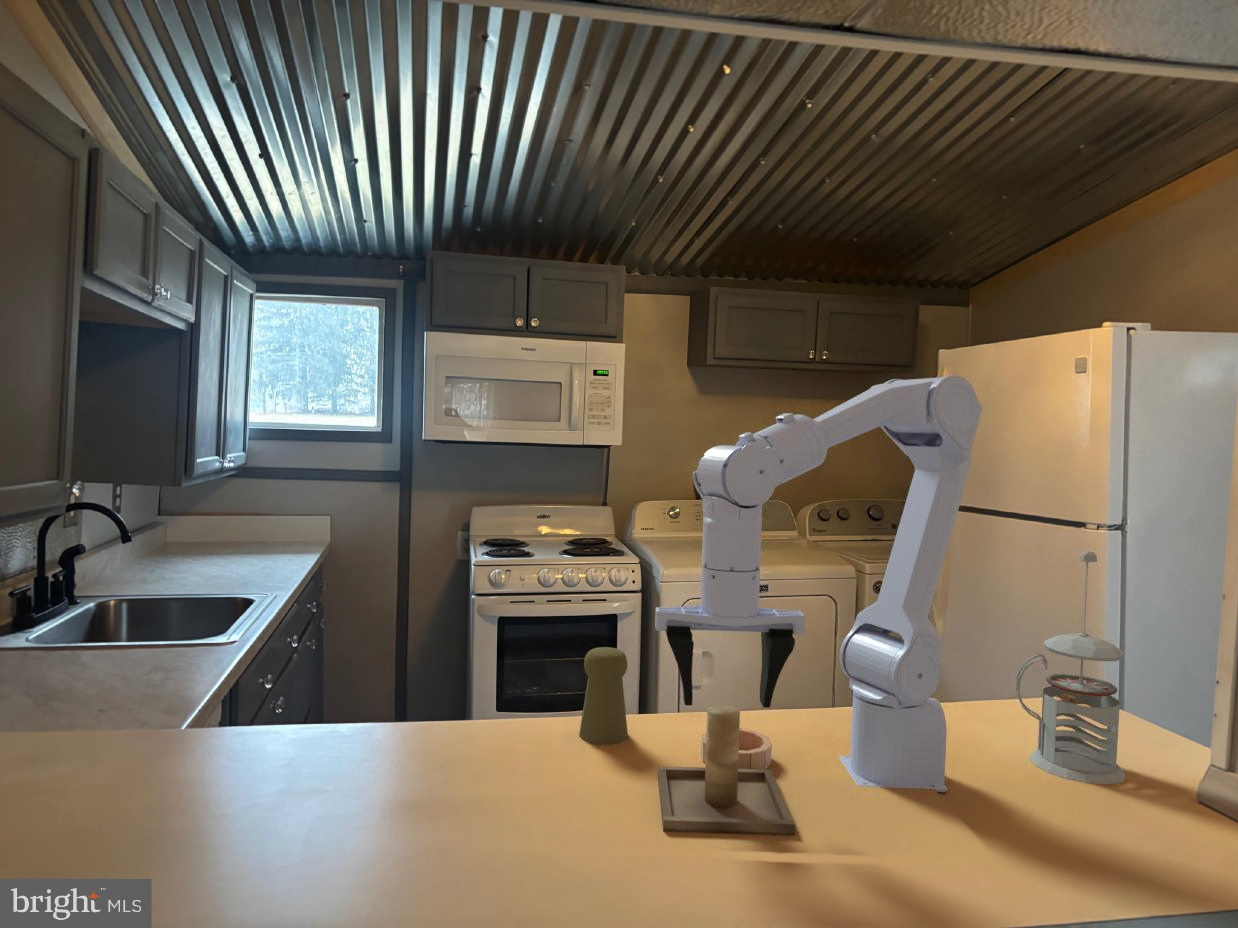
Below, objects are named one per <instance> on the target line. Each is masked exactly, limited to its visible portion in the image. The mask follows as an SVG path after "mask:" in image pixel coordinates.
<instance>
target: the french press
mask: <svg viewBox="0 0 1238 928" xmlns="http://www.w3.org/2000/svg"><path fill="white" fill-rule="evenodd" d="M1097 557H1098V556H1097V555H1096V553H1095V552H1093V551H1090V550H1084V551H1081V552H1080V554H1078V561H1079V562H1085V563H1086V564H1085V581H1084V582H1085V583H1084V598H1083V600H1084V601H1083V616H1082V617H1083V618H1082V619H1083V620H1082V621H1083V623H1082V632H1079V633H1068V634H1067V633H1066V634H1060V635H1055V636H1053V637H1051V638H1048V639H1046V640H1045V641H1043V646H1044V648H1045V649H1046V650H1047V651H1048V652H1050V653H1053V654H1055V655H1058V656H1059V655H1060V656H1063V657H1069V658H1073V659H1080V674H1077V673H1074V674H1073V673H1071V674H1070V673H1065V672H1063V673H1053V674H1050V675H1047V676H1046V679H1045V680H1046V682H1047V684H1049V686H1047V687H1046V686H1045V687H1044V688H1043V691H1042V706H1041V707H1042V708H1041V716H1040V714H1038V713H1037V712H1035V711H1034V710H1032V709H1030V708H1028V706H1027V705H1026V704H1025V703H1024V701H1023V700H1022V696H1021V695H1022V694H1021V691H1020V690H1021V681H1022V678H1023V676H1024V673H1025V671H1026V670H1027V669H1029V667H1030V666H1032V665H1033V664H1034V663H1036V662H1040V661H1041V660H1042V667H1043V669H1044V670H1047V669H1048V660H1047V658H1046V657H1045V656H1044V654H1042V653H1041V654H1040V653H1039V654H1036V655H1033V656H1030V657H1027V659H1026V660H1025V661H1023V662H1022V663H1021V665H1020V667H1019V668H1018V669H1017V672H1016V675H1015V684H1014V686H1015V687H1014V688H1015V691H1016V696H1017V699H1018V701H1019V702H1020V704H1021V706H1022V709H1023V710H1024V711H1025V712H1026V713H1027V714H1028V715H1030V716H1032V717H1033V718H1035V719H1036V720H1038V736H1037V737H1038V739H1037V743H1038V744H1037V749H1035V750H1034V751H1032V752H1031V753H1030V755H1029V760H1030V761H1031V762H1032V764H1034V766H1035V767H1037V768H1040V769H1041V770H1043V771H1045V772H1046V773H1049V774H1052V775H1055V776H1058V777H1060V778H1064V779H1065V780H1069V781H1074V782H1075V781H1076V782H1080V783H1085V784H1094V785H1095V784H1096V785H1112V784H1113V785H1114V784H1121V783H1122V782H1124V781H1126V780H1127V776H1126V772H1125V771H1124V769H1122V767H1121V766H1120V765H1119V764H1118V763H1117V760H1118V758H1117V756H1118V741H1119V724H1120V723H1119V722H1120V710H1121V709H1120V706H1121V705H1120V704H1121V703H1120V700H1119V699H1117V698H1115V697H1113V696H1114V695H1116V693H1117V692H1118V687H1117V686H1116V685H1114V684H1112V683H1111V682H1109V681H1105V680H1103V679H1101V678H1096V679H1095V677H1089V675H1088V676H1086V675H1084V674H1083V669H1084V661H1085V660H1086V661H1093V662H1117V661H1121V660H1122V659H1123V658H1124V656H1125V654H1124V651H1122V650H1121V649H1120V648H1119V647H1117V646H1116V645H1114V643H1112V642H1110V641H1108V640H1105V639H1103V638H1100V637H1098V636H1094V635H1089V634H1088V633H1087V632H1086V630H1085V629H1086V612H1087V611H1086V610H1087V592H1088V572H1089V571H1088V570H1089V563H1097V562H1098V559H1097ZM1038 657H1039V658H1038ZM1035 658H1037V659H1035ZM1032 659H1034V660H1032ZM1028 662H1029V663H1028ZM1027 663H1028V664H1027ZM1083 675H1084V676H1083ZM1050 685H1051V686H1050ZM1060 695H1066V696H1070V697H1073V698H1075V699H1076V700H1079V701H1080V702H1082V703H1083V704H1086V706H1085V705H1079V704H1077V703H1076V702H1074V701H1071V700H1067V699H1064V698H1063V699H1056V698H1054V697H1055V696H1060ZM1112 695H1113V696H1112ZM1060 716H1063V717H1066V718H1057V717H1060ZM1081 716H1082V717H1081ZM1083 717H1085V718H1087V719H1090V720H1092V721H1093V722H1096V723H1098V724H1100V725H1102V726H1103V727H1099V726H1097V725H1096V724H1094V723H1092V722H1090V721H1087V720H1086V719H1085V718H1083ZM1059 727H1064V728H1068V729H1057V728H1059ZM1104 727H1106V728H1104ZM1069 729H1072V730H1069ZM1086 730H1087V731H1086ZM1088 731H1090V732H1091V733H1093V734H1091V733H1090V732H1088ZM1094 734H1095V735H1094ZM1096 735H1098V736H1099V737H1101V738H1099V737H1098V736H1096Z"/></svg>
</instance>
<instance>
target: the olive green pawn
mask: <svg viewBox="0 0 1238 928" xmlns="http://www.w3.org/2000/svg"><path fill="white" fill-rule="evenodd" d="M583 664H584V665H583V667H584V672H585V674H586V675H587V682H586V683H587V684H586V690H585V696H584V702H583V709H582V714H581V715H582V716H581V721H580V722H581V723H580V727H579V734H578V735H579V738H580V739H581V740H582V741H584V742H586V743H589V744H593V745H600V746H601V745H602V746H603V745H604V746H607V745H616V744H620V743H624V742H625V741H627V739H628V738H629V734H628V723H627V722H628V721H627V713H626V703H625V693H624V691H625V690H624V681H623V677H624V676H625V674H626V673H627V671H628V658H627V655H626V653H625V652H624V651H622V650H621V649H620V648H615V647H609V646H602V647H594V648H592V649H590V650H589V651H588V652H587V653H586V654H585V657H584V661H583Z"/></svg>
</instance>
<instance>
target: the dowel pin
mask: <svg viewBox="0 0 1238 928" xmlns="http://www.w3.org/2000/svg"><path fill="white" fill-rule="evenodd" d="M740 717H741V711H740V710H739V709H738V708H736V707H734V706H731V705H730V706H729V705H723V704H721V705H720V704H719V705H718V704H717V705H711V706H709V707H707V709H706V731H705V732H706V764H705V767H704V768H705V802H706V803H707V804H709V805H711V806H713V807H717V808H730V807H733V806H735V805H736V804H737V792H738V759H739V728H740V721H741V719H740Z"/></svg>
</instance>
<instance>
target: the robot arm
mask: <svg viewBox="0 0 1238 928" xmlns="http://www.w3.org/2000/svg"><path fill="white" fill-rule="evenodd" d="M982 412H983V406H982V404H981V402H980V400H979V398H978V396H977V394H976V391H975V390H974V387H973V385H972V384H971V383H970V382H969V380H967V379H966V378H965V377H963V376H961V375H957V374H951V375H945V376H944V377H943V376H942V377H926V378H915V379H901V378H894V379H893V378H892V379H890V380H888V381H885V382H884V383H879V384H875V385H872V386H871V387H870V388H868V389H867V390H866V391H863V392H862V393H860V394H858V395H856V396H854V397H852V398H851V399H849V400H846V401H845V402H842V403H841V404H839V405H837V406H835V407H833V408H832V409H829V410H828V411H826V412H824V413H822V414H821V415H819V416H817V417H815V418H811V417H809V416H807V415H805V414H797V413H796V414H794V413H792V412H790V413H789V412H787V413H786V412H785V413H782V414H780V415H778V416H776V417H775V422H776V423H775V424H773V425H770V426H767V427H766V428H764V429H761V430H759V431H757V432H754V433H752V432H743V433H742V434H740V435H738V441H737V442H736V444H735V445H723V444H722V445H716V446H713V447H711V448H709V449H708V450H706V452H705V453H704V454H703V455H704V456H703V457H701V458H700V460H699V462H698V466H697V468H696V470H695V471H693V472H692V481H693V484H694V488H695V489H696V491H697V493H698V494H699V496H700V498H701V501H702V502H701V503H702V512H703V519H702V545H701V550H702V551H701V582H700V586H701V587H700V605H692V606H691V605H690V606H687V605H686V606H674V607H673V606H670V607H669V606H667V607H665V606H664V607H662V606H661V607H659V606H656V607H655V613H654V614H655V620H654V627H655V631H656V632H657V631H658V632H659V631H660V632H665V634H666V638H667V641H668V643H669V646H670V649H671V651H672V653H673V656H674V659H675V662H676V664H677V667H678V670H679V674H680V679H681V685H682V686H681V687H682V695H683V696H682V699H683V703H684V706H693V699H694V698H693V679H692V677H693V676H692V675H693V674H692V673H693V658H694V657H693V656H694V646H695V645H694V641H693V633H692V631H714V632H715V631H716V632H717V631H718V632H750V633H751V632H754V633H760V634H761V636H760V637H761V671H760V672H761V673H760V682H759V683H760V685H759V702H760V703H761V705H762V707H763V708H769V709H770V708H771V705H772V699H773V695H774V691H775V688H776V686H777V682H778V680H779V677H780V675H781V672H782V671H783V668H784V666H785V664H786V663H787V661H788V658H789V657H790V656H791V654H792V652H793V650H794V648H795V645H796V639H795V638H794V635H796V636H797V635H800V636H804V635H805V621H806V620H805V619H806V617H805V614H804V613H803V612H802V611H799V610H784V609H773V608H762V607H760V585H761V582H760V581H761V558H762V557H761V556H762V555H761V550H762V527H763V525H762V524H763V523H762V522H763V504H765V503H766V502H768V500H769V499H770V498H771V497H772V496H773V494H774V491H775V489H776V488H777V487H779V486H781V485H782V484H784V483H787V482H788V481H791V480H792V479H795V478H797V477H799V476H800V475H803V474H804V473H807V472H809V471H811V470H813V469H815V468H817V467H819V466H821V465H822V464H823V463H824V462H825V460H826V457H827V453H828V449H829V448H831V447H834V446H836V445H839V444H841V443H843V442H846V441H848V440H851V439H853V438H855V437H858V436H859V435H863V434H865V433H867V432H869V431H872V430H874V429H877V428H879V427H880V428H881V430H882V431H883V432H884V433H885V434H886V435H887V436H888V437H889V438H890V439H891V441H893V443H894V444H895V445H896V446H897V447H898V448H899V450H901V451H902V452H903V453H904V454H905V456H907V457H908V458H909V459H910V462H912V465H913V466H914V473H913V476H912V479H911V483H910V485H909V490H908V493H907V496H906V501H905V504H904V507H903V511H902V514H901V517H900V521H899V525H898V528H897V532H896V535H895V538H894V541H893V542H894V543H893V545H892V548H891V552H890V556H889V559H888V561H887V562H888V563H887V567H886V569H885V573H884V575H883V580H882V584H881V587H880V590H879V593H878V596H877V601H875V602H874V603H872V604H870V605H869V606H867V607H866V608H864V609H863V610H862V611H861V610H860V612H858V613H857V615H856V618H855V621H854V623H853V624H854V625H853V626H852V628H851V629H850V631H849V632H848V634H847V635H846V636H845V637H844V639H843V641H842V643H841V645H840V649H839V664H840V668H841V671H842V672H843V673H844V675H845V676H846V677H847V678H848V679H849V683H848V684H849V685H848V688H849V689H851V690H852V703H851V707H852V708H851V709H852V710H851V729H850V730H851V732H850V733H851V735H850V737H851V738H850V755H839V756H838V759H839V760H840V762H841V763H842V764H843V766H844V768H845V769H846V770H847V772H848V774H849V775H850V777H851V778H852V779H853V780H854V782H855V784H856V785H857V786H859V787H872V788H873V787H875V788H899V789H900V788H902V789H903V788H904V789H907V788H908V789H931V790H932V789H933V790H935V791H936V792H937V793H945V792H947V791H948V786H946V785H945V778H946V775H945V774H946V757H947V756H946V753H947V734H948V733H947V721H946V715H945V711H944V708H943V707H942V705H941V703H940V702H939V700H938V699H937V698H934V697H932V695H933V694H934V693H935V691H936V690H937V688H938V685H939V682H940V679H941V661H940V660H941V659H940V658H941V652H942V647H943V643H944V641H943V639H942V637H941V635H940V634H939V632H938V631H937V630H936V628H935V626H934V625H933V623H932V621H930V618H929V614H930V611H931V606H932V604H933V600H934V596H935V593H936V590H937V586H938V582H939V580H940V579H939V578H940V577H941V571H942V567H943V565H944V562H945V557H946V554H947V551H948V548H949V545H950V544H949V543H950V541H951V537H952V534H953V530H954V526H955V523H956V521H957V520H956V519H957V516H958V513H959V510H960V509H959V508H960V505H961V502H962V499H963V498H962V497H963V494H964V491H965V488H966V484H967V481H968V477H969V473H970V470H971V465H972V449H973V448H972V447H973V443H974V440H975V437H976V434H977V430H978V427H979V423H980V420H981V416H982ZM892 633H897V634H898V635H900V636H901V637H902V638H900V637H899V638H898V637H896V636H893V635H890V634H892Z"/></svg>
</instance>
